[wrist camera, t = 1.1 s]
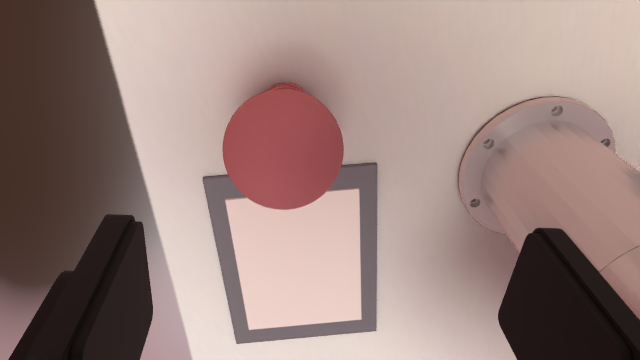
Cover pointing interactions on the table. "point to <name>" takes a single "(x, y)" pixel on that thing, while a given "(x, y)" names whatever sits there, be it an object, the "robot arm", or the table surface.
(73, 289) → the robot arm
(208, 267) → the table surface
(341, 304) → the gray rectangular picture frame
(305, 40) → the table surface
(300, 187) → the light bulb
